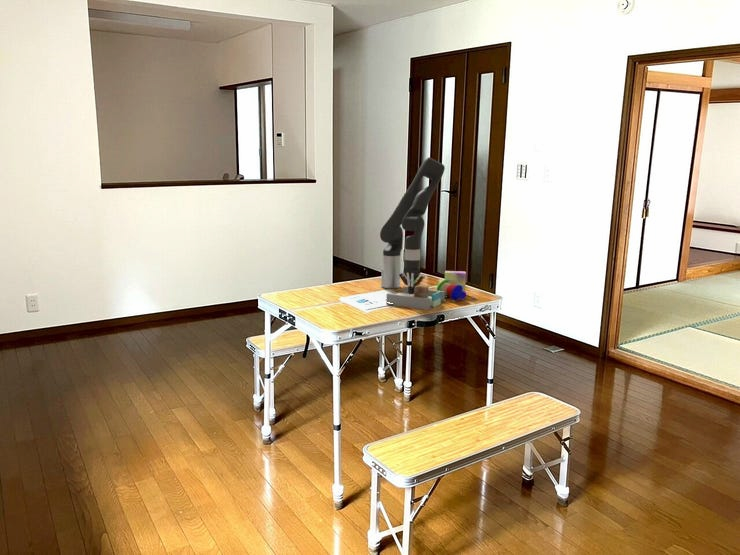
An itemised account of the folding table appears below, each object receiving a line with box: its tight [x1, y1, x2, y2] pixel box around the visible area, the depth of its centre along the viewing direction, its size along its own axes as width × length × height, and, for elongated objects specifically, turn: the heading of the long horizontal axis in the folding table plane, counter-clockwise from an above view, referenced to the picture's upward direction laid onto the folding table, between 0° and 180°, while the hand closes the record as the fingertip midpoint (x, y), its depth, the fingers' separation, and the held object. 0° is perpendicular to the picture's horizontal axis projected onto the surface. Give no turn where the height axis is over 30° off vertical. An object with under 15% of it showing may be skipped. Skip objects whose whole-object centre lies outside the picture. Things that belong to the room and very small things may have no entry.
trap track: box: [386, 286, 446, 311], centre depth 297 cm, size 22×18×6 cm
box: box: [444, 270, 467, 292], centre depth 313 cm, size 10×6×12 cm, turn 84°
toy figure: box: [436, 279, 467, 302], centre depth 304 cm, size 9×10×15 cm
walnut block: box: [414, 285, 429, 298], centre depth 295 cm, size 5×5×5 cm
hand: (411, 293), depth 297 cm, fingers closed
